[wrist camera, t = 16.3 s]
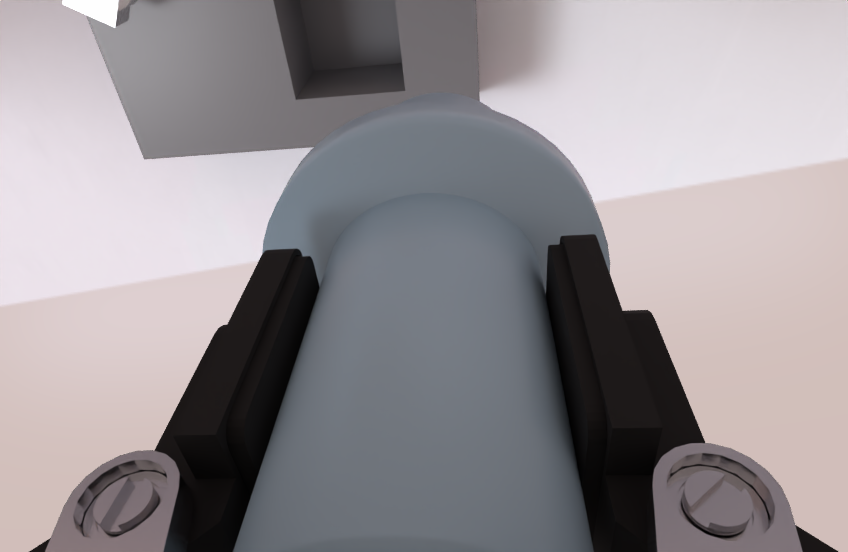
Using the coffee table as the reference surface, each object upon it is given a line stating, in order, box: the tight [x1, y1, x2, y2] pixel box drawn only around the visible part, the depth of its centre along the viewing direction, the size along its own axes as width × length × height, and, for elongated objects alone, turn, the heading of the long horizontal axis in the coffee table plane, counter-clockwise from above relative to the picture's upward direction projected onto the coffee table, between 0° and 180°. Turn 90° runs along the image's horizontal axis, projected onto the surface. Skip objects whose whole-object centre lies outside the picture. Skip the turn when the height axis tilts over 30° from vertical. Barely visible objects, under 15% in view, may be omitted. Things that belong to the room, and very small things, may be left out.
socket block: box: [86, 0, 480, 159], centre depth 28 cm, size 17×10×7 cm, turn 95°
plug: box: [233, 93, 610, 552], centre depth 9 cm, size 6×6×14 cm
